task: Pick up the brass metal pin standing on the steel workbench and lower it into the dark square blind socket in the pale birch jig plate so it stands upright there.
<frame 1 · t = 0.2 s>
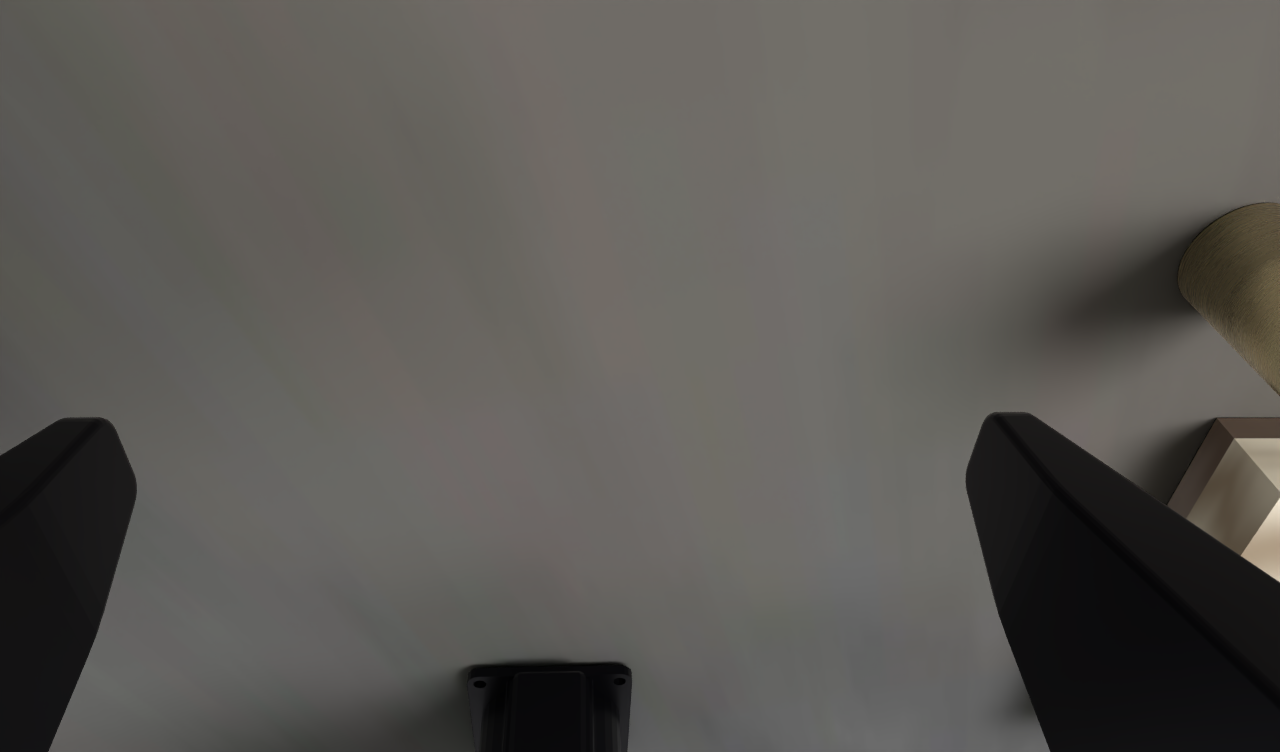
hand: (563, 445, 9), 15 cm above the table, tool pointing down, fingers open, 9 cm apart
brass pin: (1240, 258, 26), on the table
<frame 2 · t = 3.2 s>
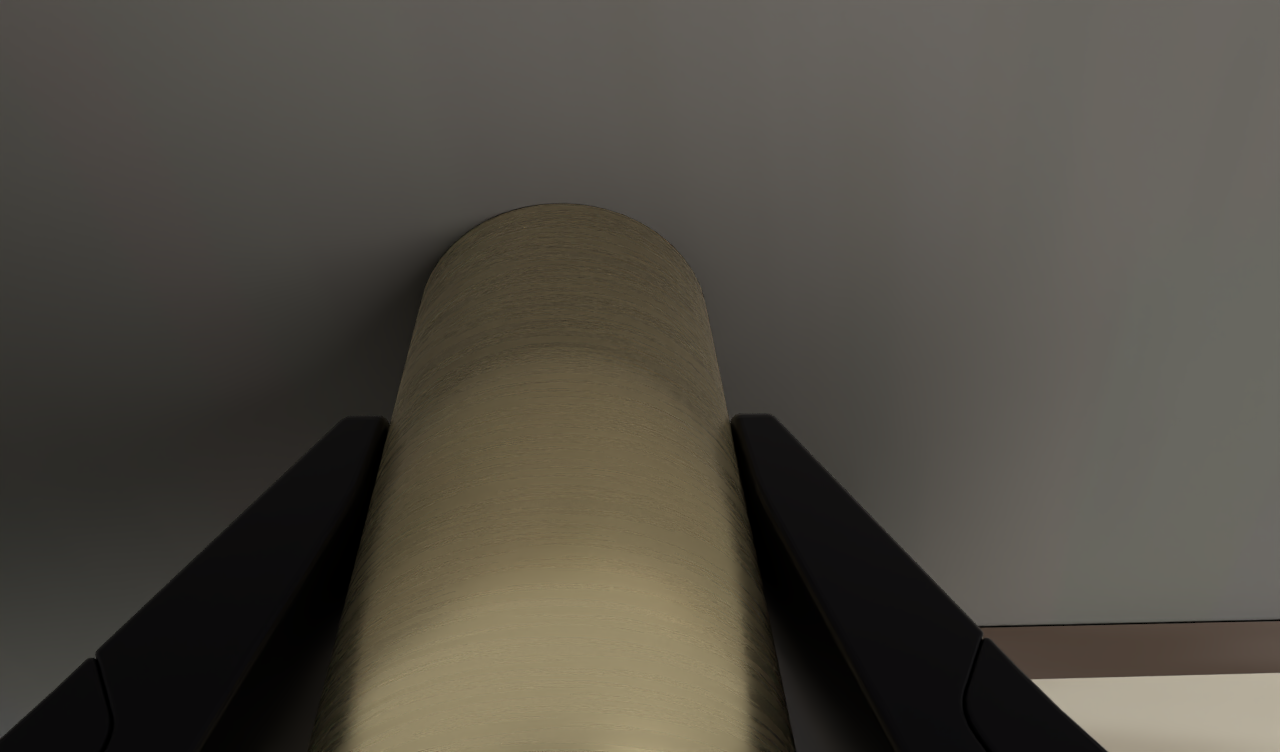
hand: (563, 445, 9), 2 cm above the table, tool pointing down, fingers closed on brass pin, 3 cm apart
brass pin: (565, 333, 11), on the table, touching gripper
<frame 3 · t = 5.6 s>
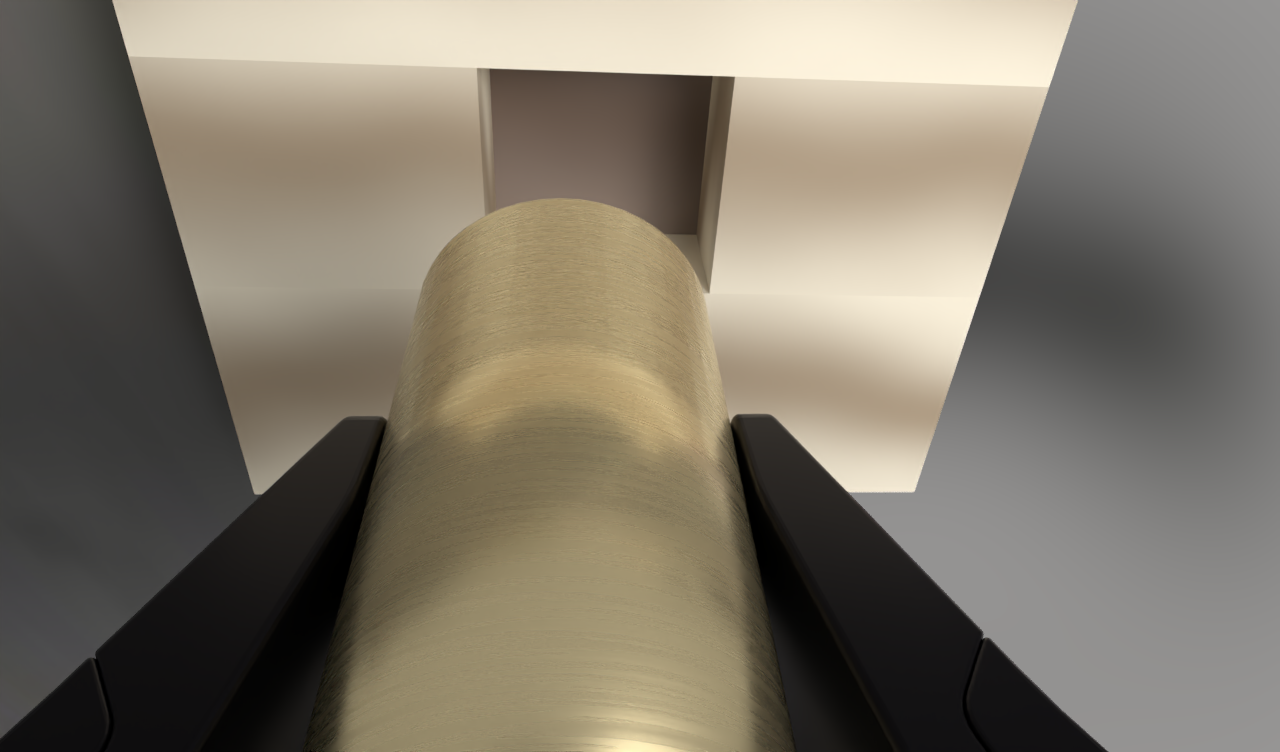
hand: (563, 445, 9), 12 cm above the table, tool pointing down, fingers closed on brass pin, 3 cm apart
jig plate: (599, 119, 20), on the table
brass pin: (563, 329, 11), point 10 cm above the table, touching gripper
when the fingers open (4 cm above the table, at t = 8.2 s): brass pin drops 1 cm, resting on jig plate.
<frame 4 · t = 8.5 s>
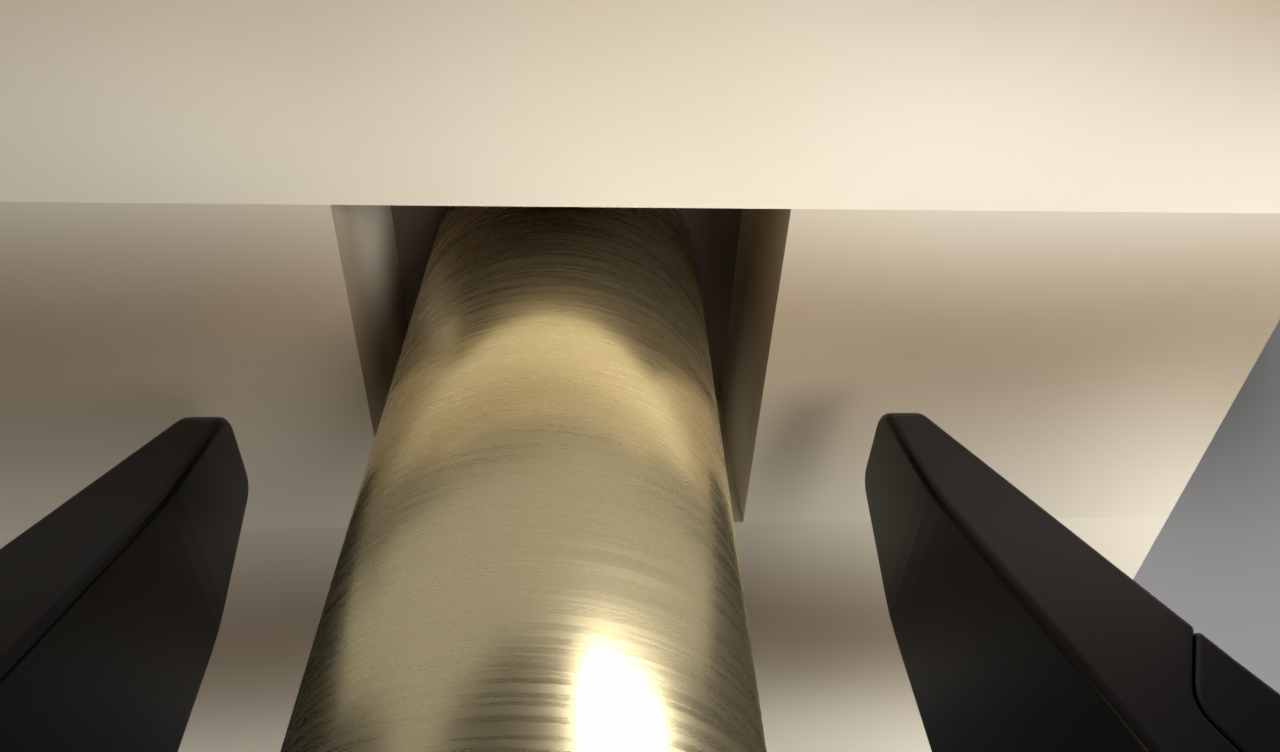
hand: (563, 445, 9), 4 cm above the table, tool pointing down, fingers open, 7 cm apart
jig plate: (570, 236, 13), on the table
brass pin: (565, 271, 12), point 1 cm above the table, touching jig plate
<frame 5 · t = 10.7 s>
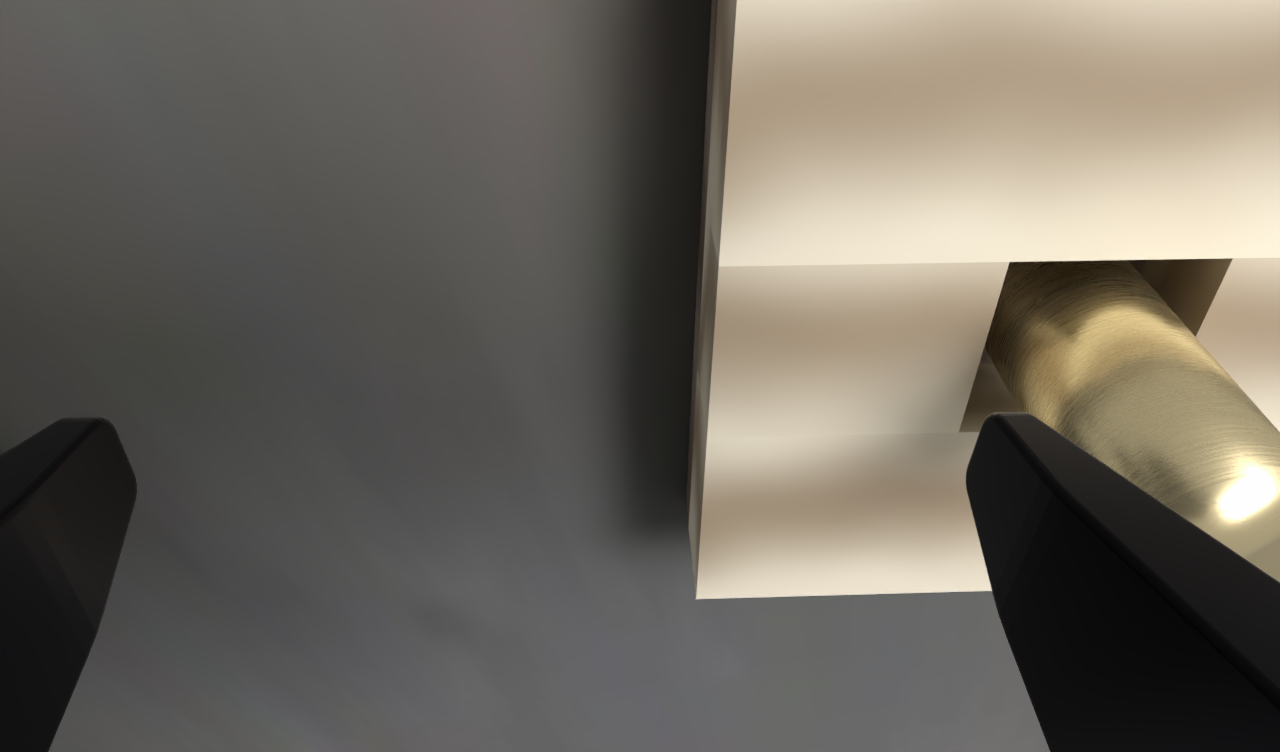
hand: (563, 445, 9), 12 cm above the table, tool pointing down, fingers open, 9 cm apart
jig plate: (1025, 265, 22), on the table
brass pin: (1039, 286, 21), point 1 cm above the table, touching jig plate
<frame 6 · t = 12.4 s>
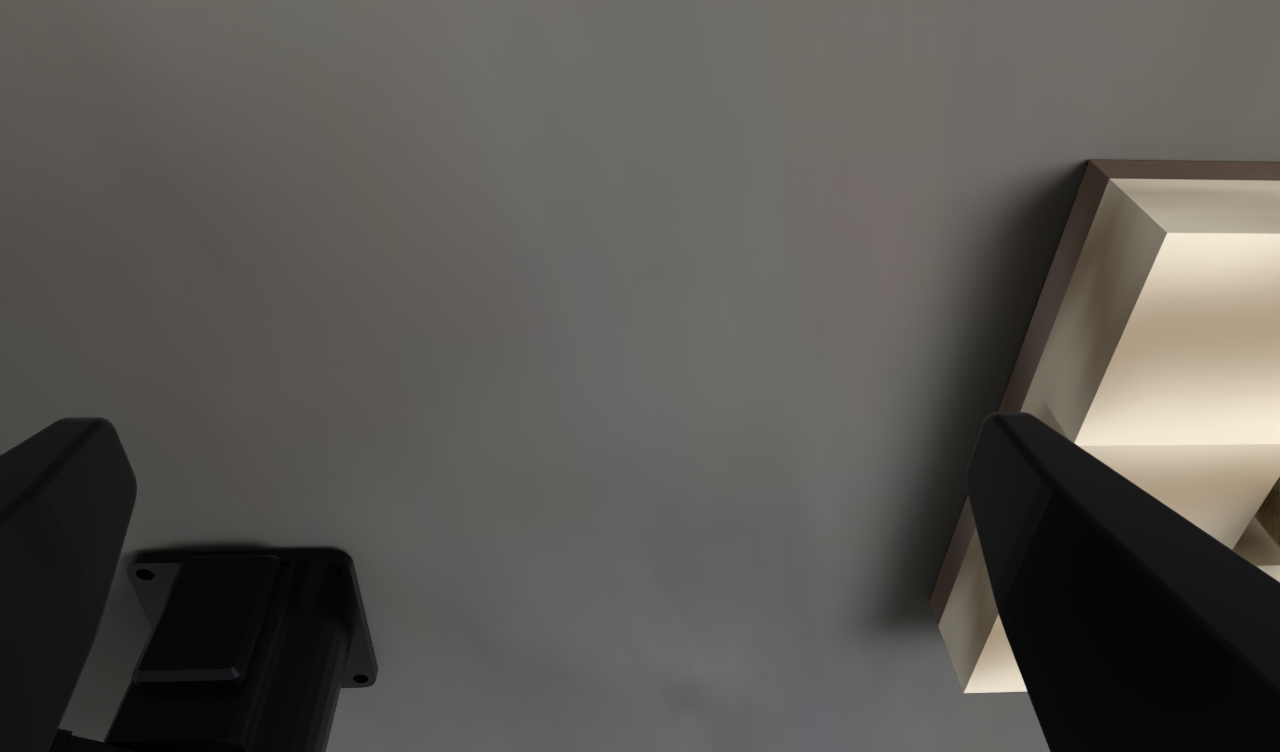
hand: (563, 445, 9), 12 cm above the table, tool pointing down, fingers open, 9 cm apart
jig plate: (1260, 420, 26), on the table
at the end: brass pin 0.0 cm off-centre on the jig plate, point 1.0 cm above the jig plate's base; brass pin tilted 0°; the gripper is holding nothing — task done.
